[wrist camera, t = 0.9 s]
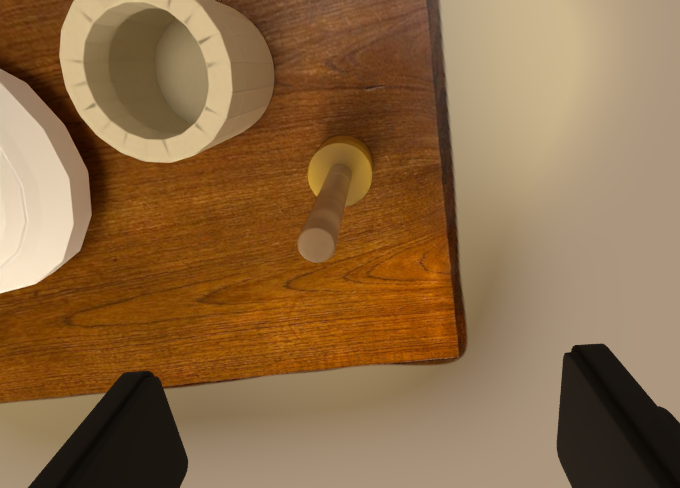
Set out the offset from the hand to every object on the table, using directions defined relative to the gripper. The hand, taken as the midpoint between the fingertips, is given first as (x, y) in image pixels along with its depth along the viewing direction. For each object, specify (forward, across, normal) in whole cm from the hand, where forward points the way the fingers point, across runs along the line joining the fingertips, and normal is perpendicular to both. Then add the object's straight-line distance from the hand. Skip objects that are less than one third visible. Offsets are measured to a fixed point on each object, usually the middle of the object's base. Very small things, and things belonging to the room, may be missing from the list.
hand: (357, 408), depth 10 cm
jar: (+28, +12, -9) cm, 32 cm away
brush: (+28, +2, 0) cm, 29 cm away
